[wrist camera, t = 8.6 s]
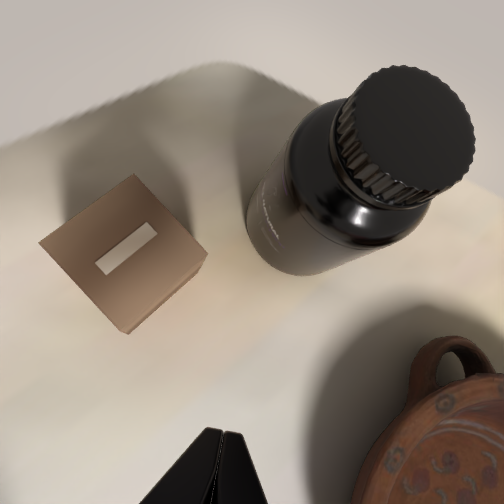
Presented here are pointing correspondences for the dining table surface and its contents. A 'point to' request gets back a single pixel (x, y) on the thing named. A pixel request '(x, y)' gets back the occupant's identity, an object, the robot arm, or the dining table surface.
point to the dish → (441, 436)
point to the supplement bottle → (360, 172)
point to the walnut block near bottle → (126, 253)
